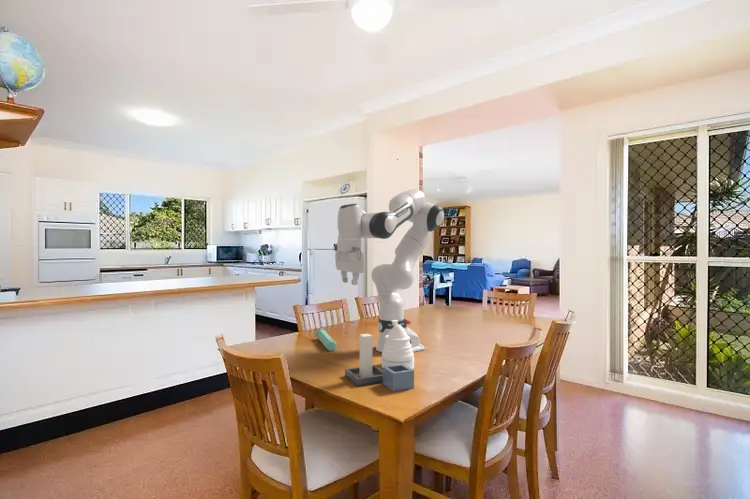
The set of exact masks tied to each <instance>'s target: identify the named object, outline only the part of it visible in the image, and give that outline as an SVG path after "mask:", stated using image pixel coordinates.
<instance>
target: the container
mask: <svg viewBox="0 0 750 499" xmlns="http://www.w3.org/2000/svg"><path fill="white" fill-rule="evenodd" d="M315 337H316V338H317V339H318V340H319V341H320V342H321V343H322V345H323V346H324V347H325V349H326V350H328V352H334V351H335V350H336V349H337V342H336V341H335V340H334V339H333V338H332V336H330V334H328V331H327V330H326V329H325V328H323V327H322V328H319V329H317V331H316V332H315Z"/></svg>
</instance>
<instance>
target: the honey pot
mask: <svg viewBox="0 0 750 499" xmlns="http://www.w3.org/2000/svg"><path fill="white" fill-rule="evenodd" d="M397 323H398V320H392V324H393V325H395V326H394V327H393V328H392V330H391V331H390V333H389V335H386V336H385V339H386V343H385V345H384V348H383V352H381V368H382V369H383V367H384V366H391V365H398V364H404V365H406V366H407V367H409V368H411V369H413V370H414V369H415V354H414V352H413V351H412V348H411V347H412V346H411V344H410V341H409V339H410V337H409V336H408V335H407V334H406V332H405V330H404V328H403V327H402V326H401V325H398V324H397Z"/></svg>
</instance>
